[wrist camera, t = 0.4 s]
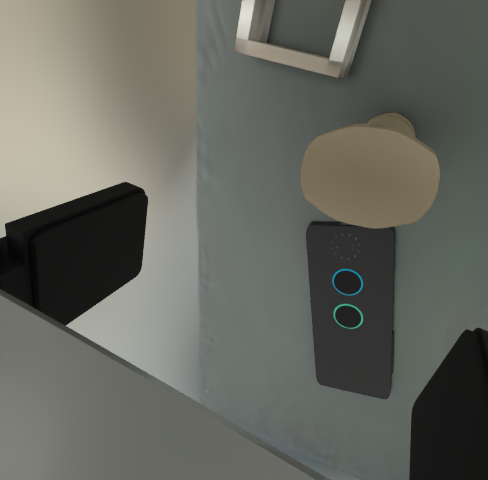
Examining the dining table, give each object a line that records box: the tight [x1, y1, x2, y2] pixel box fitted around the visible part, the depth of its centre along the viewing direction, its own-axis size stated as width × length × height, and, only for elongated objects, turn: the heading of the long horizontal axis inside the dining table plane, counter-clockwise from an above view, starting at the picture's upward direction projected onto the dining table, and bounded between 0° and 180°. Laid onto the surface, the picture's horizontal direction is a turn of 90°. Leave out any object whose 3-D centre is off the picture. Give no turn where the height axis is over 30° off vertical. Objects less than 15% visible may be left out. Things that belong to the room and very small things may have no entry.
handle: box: [300, 112, 440, 229], centre depth 24 cm, size 5×6×15 cm
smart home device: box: [306, 221, 395, 399], centre depth 38 cm, size 8×2×20 cm
